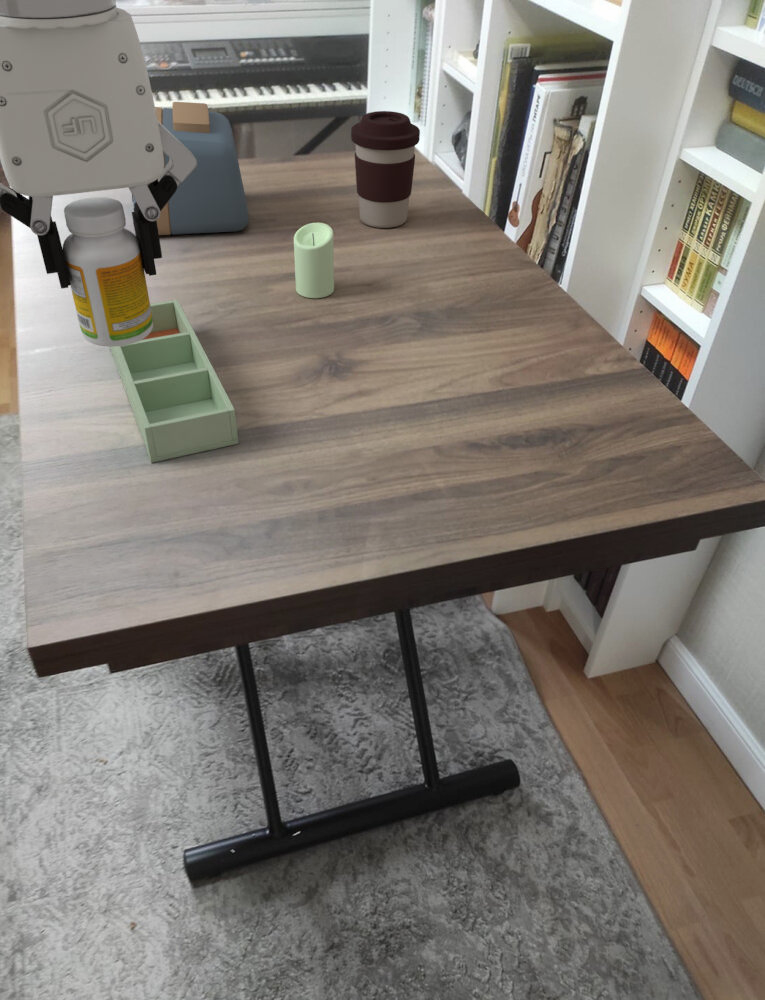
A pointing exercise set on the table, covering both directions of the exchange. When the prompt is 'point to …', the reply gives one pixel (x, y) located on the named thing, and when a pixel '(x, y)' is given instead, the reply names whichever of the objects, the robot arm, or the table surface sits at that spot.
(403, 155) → the coffee cup
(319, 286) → the candle
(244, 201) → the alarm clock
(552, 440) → the table surface
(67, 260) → the supplement bottle
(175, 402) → the tray
